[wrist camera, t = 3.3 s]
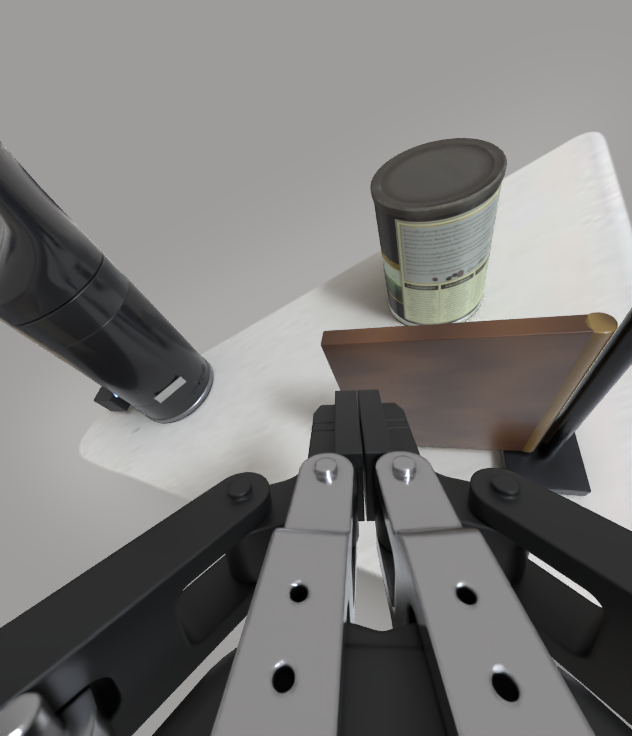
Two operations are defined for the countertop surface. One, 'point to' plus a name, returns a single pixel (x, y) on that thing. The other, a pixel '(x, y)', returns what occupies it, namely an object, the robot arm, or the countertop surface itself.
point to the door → (473, 374)
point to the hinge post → (574, 423)
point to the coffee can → (437, 227)
